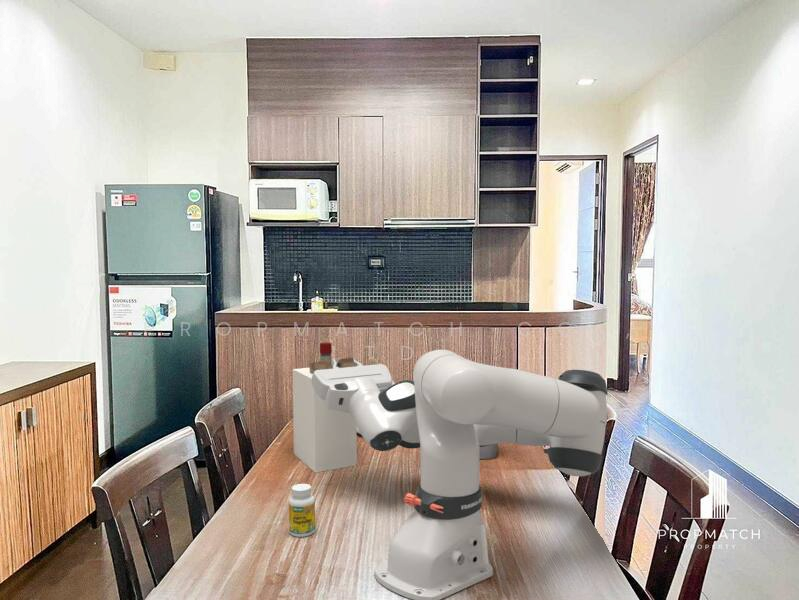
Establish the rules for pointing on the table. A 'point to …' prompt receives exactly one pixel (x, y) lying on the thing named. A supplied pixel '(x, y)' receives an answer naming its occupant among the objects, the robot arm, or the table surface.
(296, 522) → the supplement bottle
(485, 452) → the pillar candle
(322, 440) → the stand
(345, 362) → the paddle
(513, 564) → the table surface
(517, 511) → the table surface
